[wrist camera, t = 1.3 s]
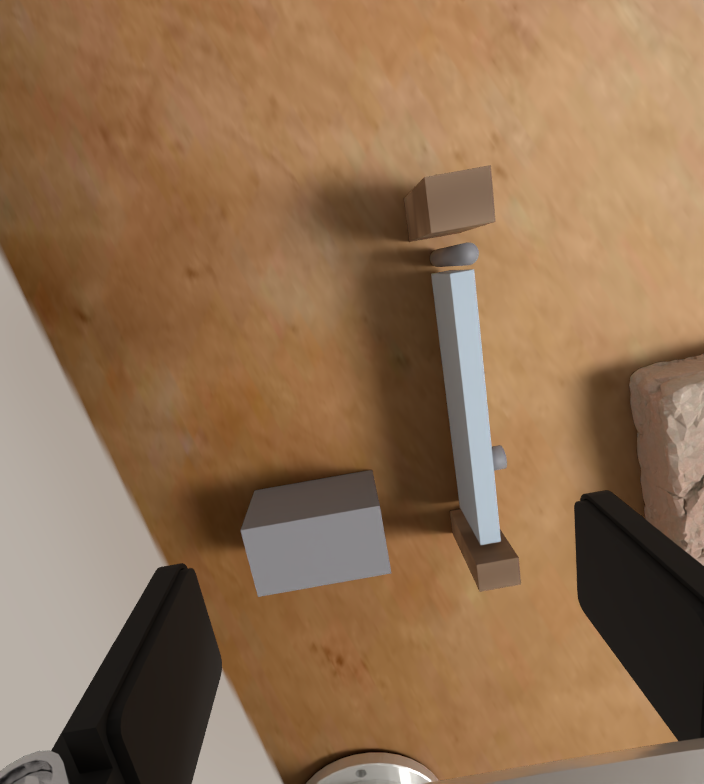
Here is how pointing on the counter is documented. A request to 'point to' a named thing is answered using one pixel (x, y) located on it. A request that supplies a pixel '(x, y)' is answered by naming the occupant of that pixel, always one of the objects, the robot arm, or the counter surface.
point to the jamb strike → (486, 556)
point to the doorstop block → (315, 533)
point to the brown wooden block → (450, 203)
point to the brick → (672, 448)
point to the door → (467, 390)
